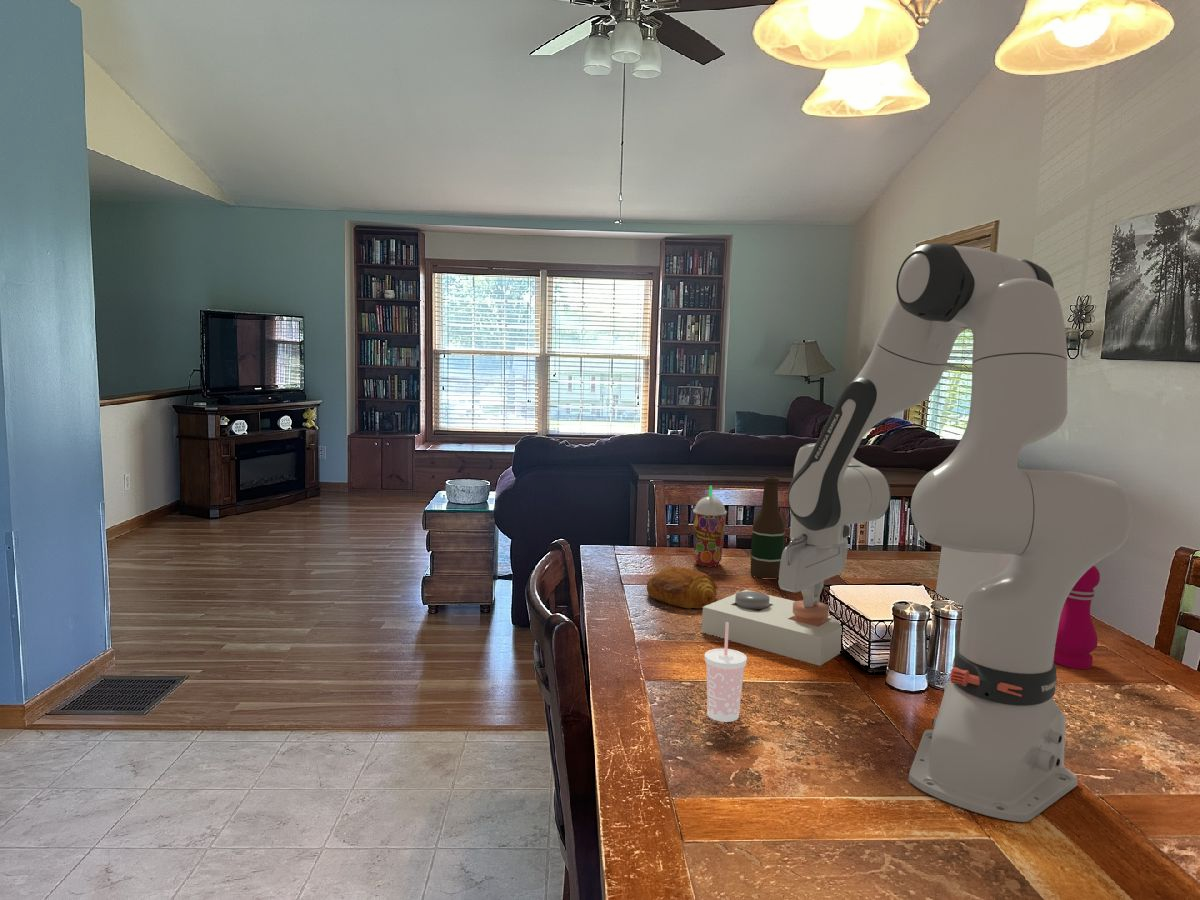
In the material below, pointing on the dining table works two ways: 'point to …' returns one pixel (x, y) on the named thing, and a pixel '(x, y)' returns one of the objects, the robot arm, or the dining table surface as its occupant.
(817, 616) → the terracotta button
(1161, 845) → the dining table surface
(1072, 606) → the pepper mill
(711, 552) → the smoothie
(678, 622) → the dining table surface
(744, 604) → the graphite button
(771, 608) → the button panel
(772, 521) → the beer bottle
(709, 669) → the beverage cup
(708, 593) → the croissant
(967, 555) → the milk
